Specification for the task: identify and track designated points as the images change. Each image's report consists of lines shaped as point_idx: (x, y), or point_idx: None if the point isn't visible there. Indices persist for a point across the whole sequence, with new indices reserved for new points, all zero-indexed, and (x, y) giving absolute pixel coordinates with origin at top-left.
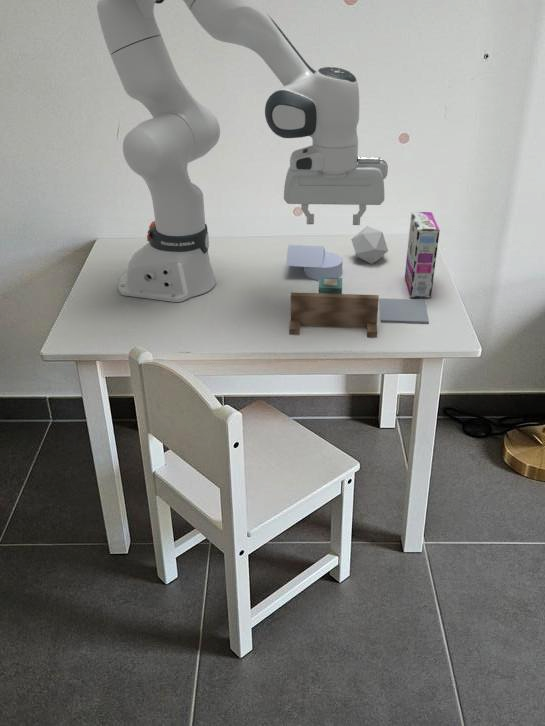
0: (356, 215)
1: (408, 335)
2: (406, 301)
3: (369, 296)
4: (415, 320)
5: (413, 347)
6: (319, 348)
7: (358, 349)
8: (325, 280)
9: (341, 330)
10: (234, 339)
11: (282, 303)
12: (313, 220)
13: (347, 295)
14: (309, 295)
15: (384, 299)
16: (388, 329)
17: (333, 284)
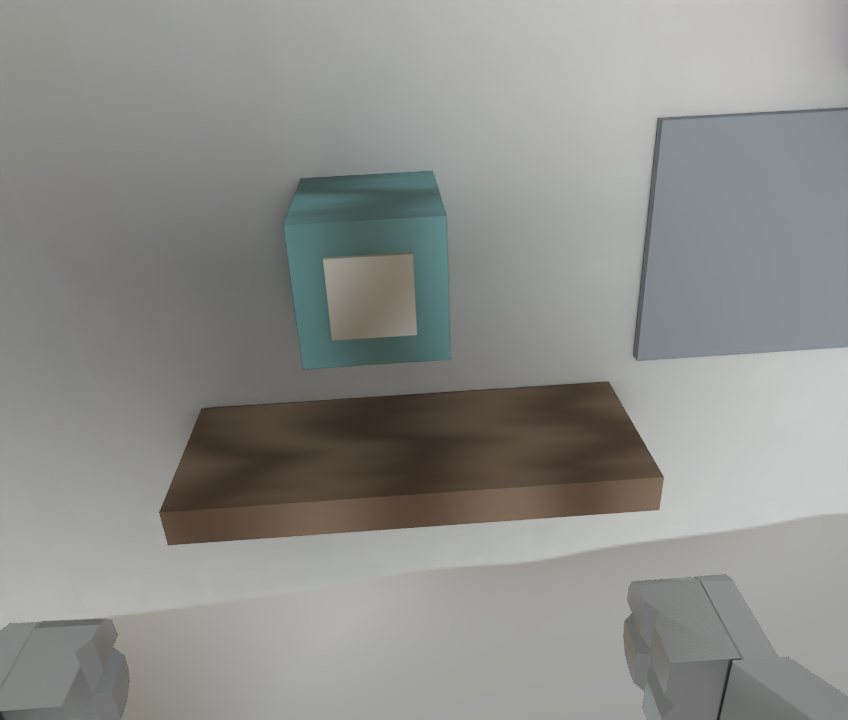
0: (715, 696)
1: (737, 444)
2: (812, 142)
3: (611, 497)
4: (802, 343)
5: (735, 521)
6: (367, 574)
7: (519, 560)
8: (334, 279)
9: None
10: (3, 566)
11: (95, 227)
12: (105, 701)
13: (488, 503)
14: (274, 530)
15: (689, 133)
16: (659, 410)
17: (393, 329)
